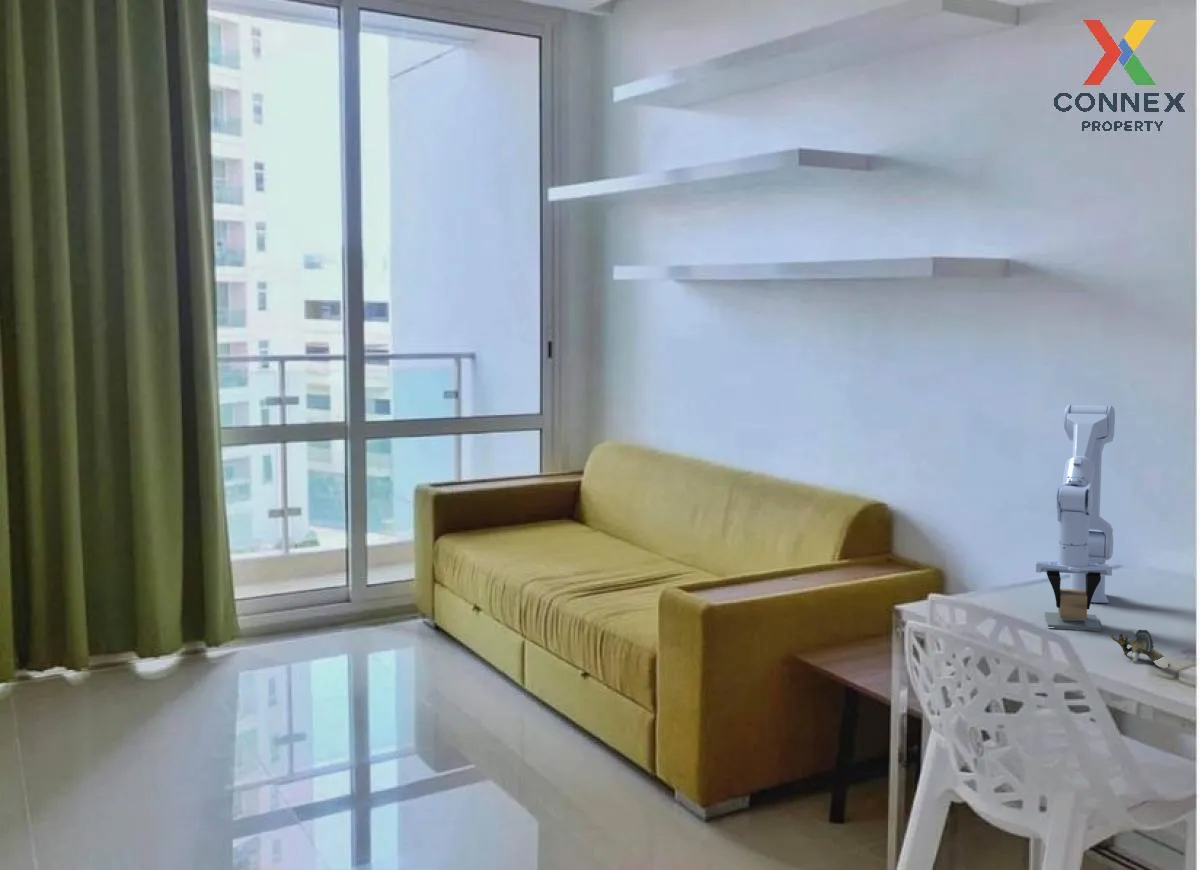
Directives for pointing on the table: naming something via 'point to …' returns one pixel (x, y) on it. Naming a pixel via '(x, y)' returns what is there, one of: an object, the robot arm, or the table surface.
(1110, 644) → the table surface
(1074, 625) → the slate coaster
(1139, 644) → the eagle figurine
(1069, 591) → the walnut cube
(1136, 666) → the table surface
